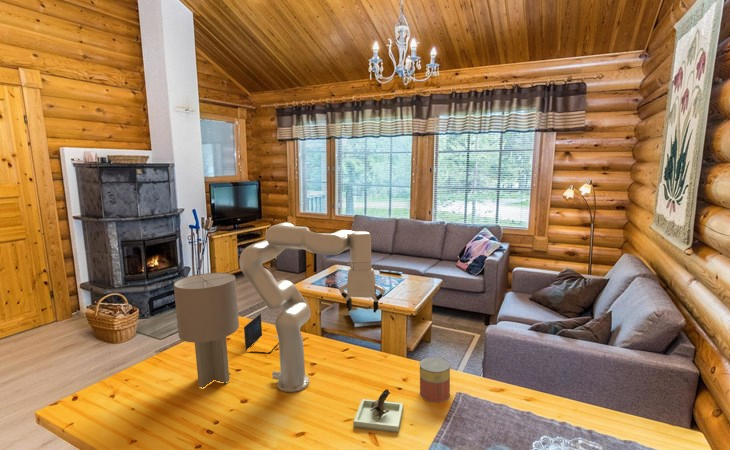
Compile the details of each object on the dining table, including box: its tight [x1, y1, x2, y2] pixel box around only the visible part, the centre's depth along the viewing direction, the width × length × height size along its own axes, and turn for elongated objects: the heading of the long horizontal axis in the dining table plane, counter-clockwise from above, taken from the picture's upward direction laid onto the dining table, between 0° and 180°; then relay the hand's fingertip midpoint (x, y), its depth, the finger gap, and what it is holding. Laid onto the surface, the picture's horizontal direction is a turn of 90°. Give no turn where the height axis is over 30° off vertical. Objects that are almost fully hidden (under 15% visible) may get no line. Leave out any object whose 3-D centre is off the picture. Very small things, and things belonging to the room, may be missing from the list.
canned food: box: [419, 356, 451, 403], centre depth 147 cm, size 11×11×12 cm
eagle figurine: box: [370, 388, 390, 419], centre depth 135 cm, size 8×7×9 cm
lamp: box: [173, 272, 240, 388], centre depth 159 cm, size 23×23×43 cm
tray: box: [353, 398, 404, 433], centre depth 134 cm, size 15×13×2 cm
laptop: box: [243, 313, 278, 351], centre depth 193 cm, size 18×12×13 cm
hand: (362, 310), depth 144 cm, fingers open, 9 cm apart
